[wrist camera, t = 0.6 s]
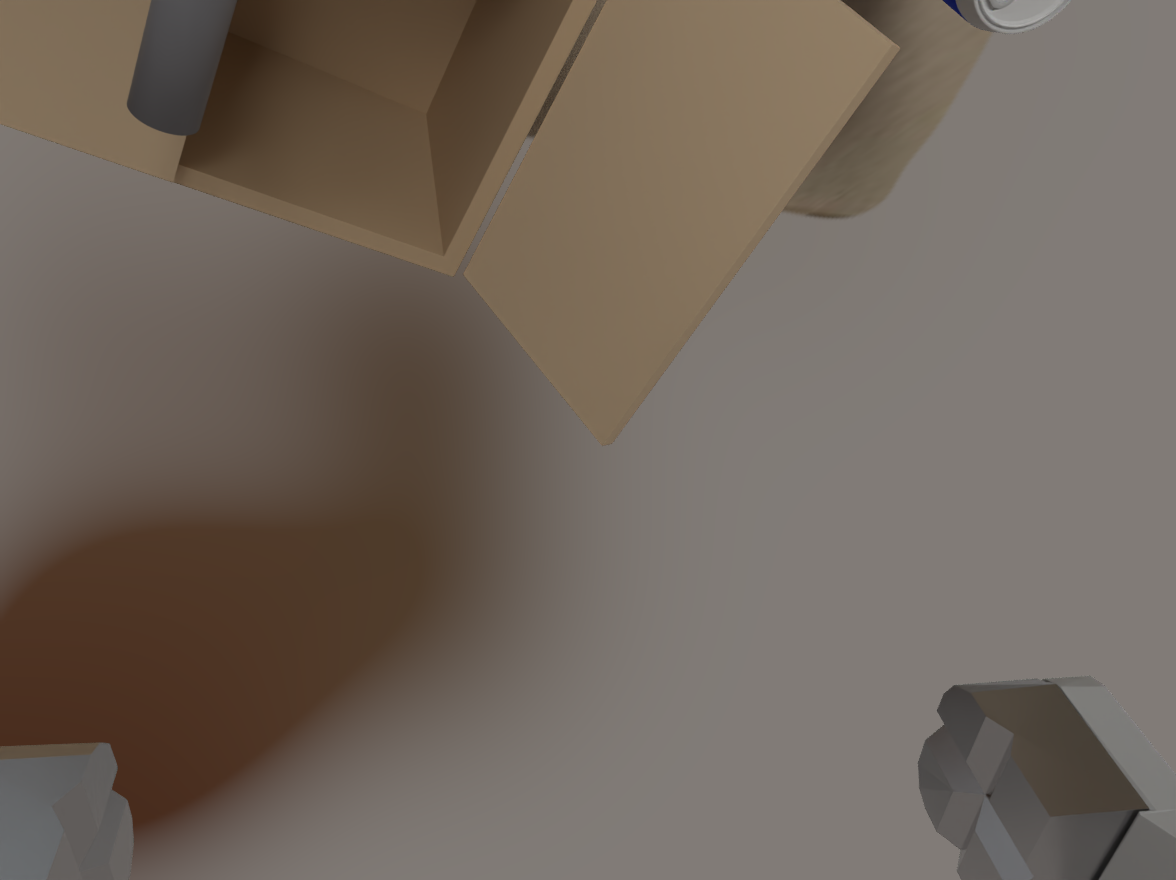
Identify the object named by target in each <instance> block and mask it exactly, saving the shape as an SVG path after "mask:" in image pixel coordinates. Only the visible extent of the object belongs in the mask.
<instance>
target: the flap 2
mask: <svg viewBox="0 0 1176 880" xmlns="http://www.w3.org/2000/svg"><path fill="white" fill-rule="evenodd" d="M900 49H901V48H900V47H899V46H897V45H896V44H895V43H894V42H892V41H891V40H890V39H889V38H887V37H886V36H885V35H884V34H882V33H881V32H880V31H879V30H877V29H876V28H875V27H874V26H872V25H871V24H870V23H869V22H867V21H866V20H865V19H864V18H862V17H861V16H860V15H859V14H857V13H856V12H855V11H854V10H852V9H851V8H850V7H849V6H848V5H846V4H845V3H844V2H843V1H841V0H607V1H606V2H605V4H604V6H603V8H602V10H601V12H600V14H599V16H598V18H597V20H596V22H595V23H594V25H593V27H592V29H591V31H590V33H589V35H588V37H587V39H586V41H585V43H584V44H583V46H582V48H581V50H580V52H579V54H578V56H577V58H576V60H575V62H574V64H573V65H572V67H571V69H570V71H569V73H568V75H567V77H566V79H565V81H564V83H563V85H562V86H561V88H560V90H559V92H558V94H557V96H556V98H555V100H554V102H553V104H552V105H551V107H550V109H549V111H548V113H547V115H546V117H545V119H544V121H543V123H542V125H541V126H540V128H539V130H538V132H537V134H536V136H535V138H534V140H533V142H532V144H531V146H530V147H529V150H528V151H527V154H526V155H525V157H524V159H523V161H522V163H521V165H520V167H519V169H518V170H517V172H516V174H515V176H514V178H513V180H512V182H511V184H510V186H509V188H508V190H507V191H506V193H505V195H504V197H503V199H502V201H501V203H500V205H499V207H498V209H497V211H496V212H495V214H494V217H493V218H492V220H491V222H490V224H489V226H488V228H487V230H486V231H485V233H484V235H483V237H482V239H481V241H480V243H479V245H478V247H477V249H476V251H475V253H474V254H473V256H472V258H471V260H470V262H469V264H468V266H467V268H466V270H465V272H464V273H463V275H464V276H465V278H466V279H467V280H468V281H469V282H470V284H471V285H472V286H473V287H474V289H475V290H476V291H477V292H478V294H479V295H480V296H481V297H482V299H483V300H484V301H485V302H486V304H487V305H488V306H489V307H490V308H491V310H492V311H493V312H494V313H495V315H496V316H497V317H498V318H499V319H500V321H501V322H502V323H503V324H504V325H505V327H506V328H507V329H508V331H509V332H510V333H511V334H512V336H513V337H514V338H515V339H516V340H517V342H518V343H519V344H520V345H521V347H522V348H523V349H524V350H525V351H526V353H527V354H528V355H529V356H530V358H531V359H532V360H533V361H534V363H535V364H536V365H537V366H538V368H539V369H540V370H541V371H542V372H543V374H544V375H545V376H546V377H547V379H548V380H549V381H550V382H551V384H552V385H553V386H554V387H555V388H556V390H557V391H558V392H559V393H560V395H561V396H562V397H563V398H564V400H565V401H566V402H567V403H568V404H569V406H570V407H571V408H572V409H573V411H574V412H575V413H576V414H577V415H578V417H579V418H580V419H581V420H582V422H583V423H584V424H585V425H586V427H587V428H588V429H589V430H590V431H591V433H592V434H593V435H594V436H595V438H596V439H597V440H598V441H599V443H600V444H601V445H602V446H604V445H609V444H612V443H613V442H614V440H615V439H616V437H617V436H618V435H619V433H620V432H621V431H622V429H623V428H624V427H625V425H626V424H627V423H628V421H629V420H630V418H631V417H632V416H633V414H634V413H635V412H636V410H637V409H638V408H639V406H640V405H641V403H642V402H643V401H644V399H645V398H646V396H647V395H648V394H649V392H650V391H651V389H652V388H653V387H654V386H655V384H656V383H657V381H658V380H659V379H660V377H661V376H662V375H663V373H664V372H665V371H666V369H667V368H668V366H669V365H670V364H671V362H672V361H673V360H674V358H675V357H676V355H677V354H678V353H679V351H680V350H681V349H682V347H683V346H684V344H685V343H686V341H687V340H688V339H689V338H690V336H691V335H692V334H693V332H694V331H695V329H696V328H697V326H698V325H699V324H700V322H701V321H702V319H703V318H704V317H705V316H706V314H707V313H708V311H709V310H710V309H711V307H712V306H713V305H714V303H715V302H716V301H717V299H718V298H719V297H720V295H721V294H722V292H723V291H724V290H725V288H726V287H727V286H728V284H729V283H730V281H731V280H732V279H733V277H734V276H735V275H736V273H737V272H738V271H739V269H740V268H741V266H742V265H743V263H744V262H745V261H746V260H747V258H748V257H749V255H750V254H751V253H752V251H753V250H754V249H755V247H756V246H757V244H758V243H759V242H760V240H761V239H762V238H763V236H764V235H765V233H766V232H767V231H768V229H769V228H770V227H771V225H772V224H773V223H774V221H775V220H776V218H777V217H778V216H779V214H780V213H781V212H782V210H783V209H784V208H785V206H786V205H787V203H788V202H789V201H790V199H791V198H792V197H793V195H794V194H795V192H796V191H797V190H798V188H799V187H800V186H801V184H802V183H803V182H804V180H805V179H806V177H807V176H808V175H809V173H810V172H811V171H812V169H813V168H814V166H815V165H816V164H817V162H818V161H819V160H820V158H821V157H822V155H823V154H824V153H825V151H826V150H827V149H828V147H829V146H830V145H831V143H832V142H833V140H834V139H835V138H836V136H837V135H838V134H839V132H840V131H841V129H842V128H843V127H844V125H845V124H846V123H847V121H848V120H849V118H850V117H851V116H852V114H853V113H854V112H855V110H856V109H857V108H858V106H859V105H860V103H861V102H862V101H863V99H864V98H865V97H866V95H867V94H868V92H869V91H870V90H871V88H872V87H873V86H874V84H875V83H876V82H877V80H878V79H879V77H880V76H881V75H882V73H883V72H884V71H885V69H886V68H887V66H888V65H889V64H890V62H891V61H892V60H893V58H894V57H895V55H896V54H897V53H898V51H899V50H900Z"/></svg>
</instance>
